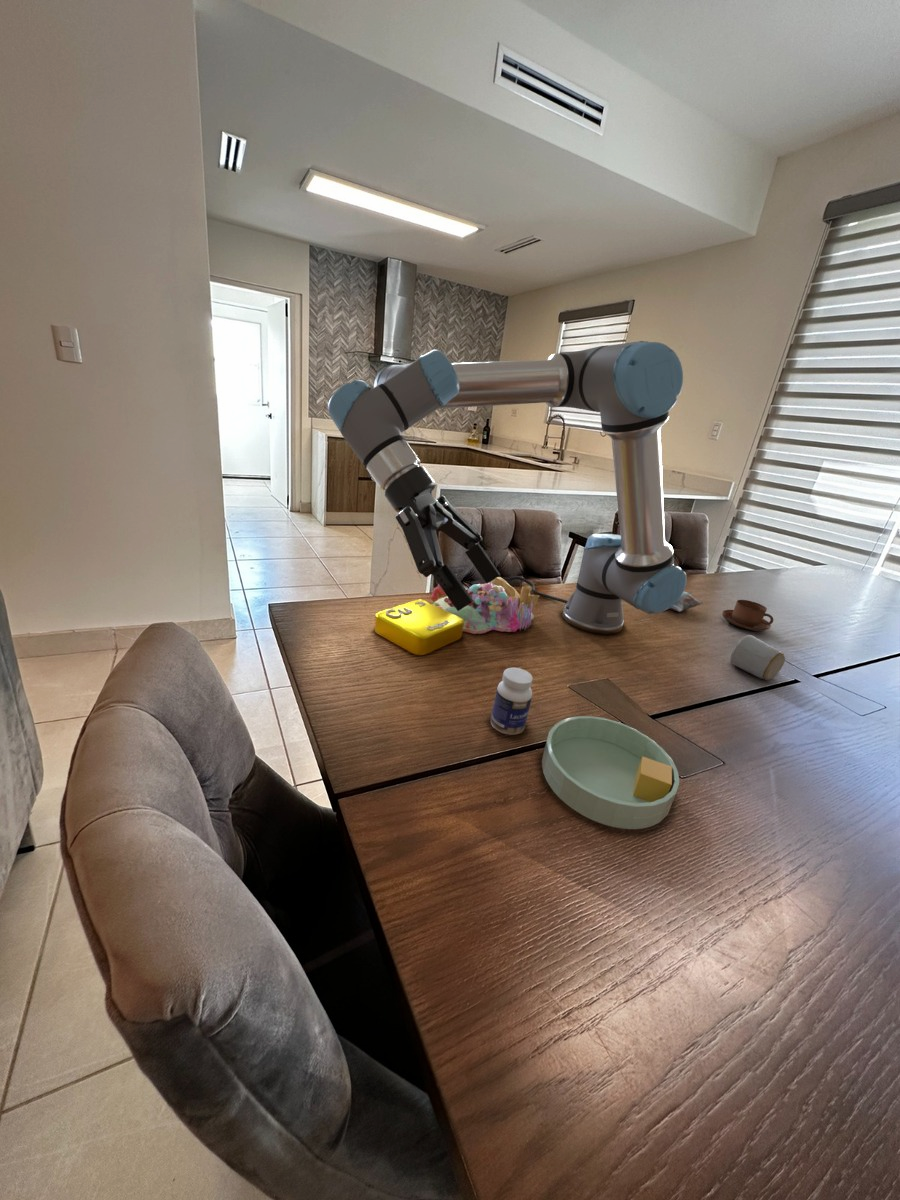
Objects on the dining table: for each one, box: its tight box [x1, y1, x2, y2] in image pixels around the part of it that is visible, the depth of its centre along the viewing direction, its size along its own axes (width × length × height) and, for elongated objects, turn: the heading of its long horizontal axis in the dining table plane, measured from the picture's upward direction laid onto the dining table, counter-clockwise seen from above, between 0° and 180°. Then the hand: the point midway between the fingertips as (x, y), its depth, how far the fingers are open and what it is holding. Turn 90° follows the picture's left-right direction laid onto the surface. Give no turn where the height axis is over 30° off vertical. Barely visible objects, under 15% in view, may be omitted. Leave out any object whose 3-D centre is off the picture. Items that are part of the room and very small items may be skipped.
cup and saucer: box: [722, 599, 774, 632], centre depth 131 cm, size 12×12×6 cm
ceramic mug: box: [730, 634, 786, 681], centre depth 105 cm, size 11×8×8 cm
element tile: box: [374, 599, 464, 656], centre depth 104 cm, size 15×15×5 cm
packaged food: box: [668, 591, 703, 613], centre depth 138 cm, size 9×12×5 cm
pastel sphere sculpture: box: [430, 576, 540, 635], centre depth 117 cm, size 25×24×9 cm
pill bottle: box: [490, 667, 534, 735], centre depth 76 cm, size 6×6×10 cm
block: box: [633, 756, 672, 802], centre depth 66 cm, size 4×4×4 cm
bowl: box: [541, 715, 680, 830], centre depth 68 cm, size 18×18×4 cm
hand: (481, 591), depth 73 cm, fingers open, 13 cm apart
